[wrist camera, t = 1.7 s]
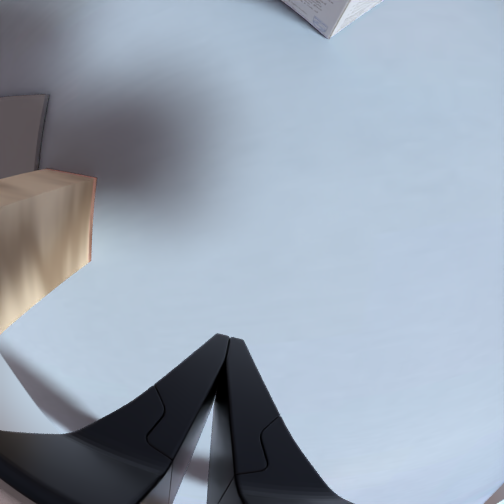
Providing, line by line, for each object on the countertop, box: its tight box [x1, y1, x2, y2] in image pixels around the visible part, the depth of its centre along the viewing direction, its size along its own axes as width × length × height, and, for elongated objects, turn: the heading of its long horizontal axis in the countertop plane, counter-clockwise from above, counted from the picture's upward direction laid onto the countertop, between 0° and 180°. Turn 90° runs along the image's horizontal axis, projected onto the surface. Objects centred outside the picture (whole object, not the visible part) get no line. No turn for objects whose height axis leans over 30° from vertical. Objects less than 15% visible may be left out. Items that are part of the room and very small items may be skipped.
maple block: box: [0, 168, 97, 334], centre depth 11 cm, size 5×4×9 cm
